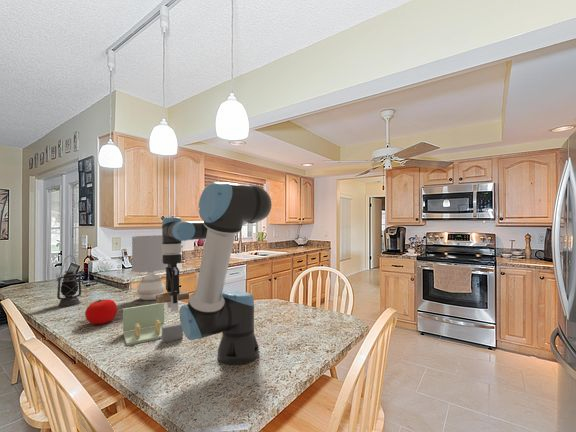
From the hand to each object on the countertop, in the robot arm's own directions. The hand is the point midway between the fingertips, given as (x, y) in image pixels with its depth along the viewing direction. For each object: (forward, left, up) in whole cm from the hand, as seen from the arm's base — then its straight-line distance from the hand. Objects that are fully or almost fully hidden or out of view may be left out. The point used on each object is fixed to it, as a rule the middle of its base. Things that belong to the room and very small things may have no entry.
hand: (172, 308), depth 123 cm
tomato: (+43, +24, -13) cm, 51 cm away
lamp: (+78, -4, -13) cm, 79 cm away
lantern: (+93, +39, -13) cm, 101 cm away
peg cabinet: (+13, +8, -13) cm, 20 cm away
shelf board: (0, 0, +4) cm, 4 cm away
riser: (+1, 0, -13) cm, 13 cm away
